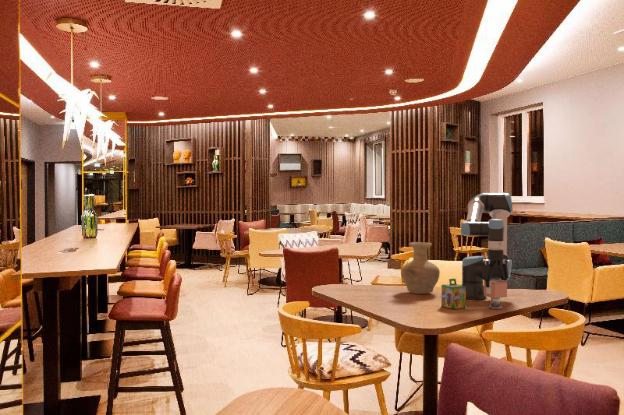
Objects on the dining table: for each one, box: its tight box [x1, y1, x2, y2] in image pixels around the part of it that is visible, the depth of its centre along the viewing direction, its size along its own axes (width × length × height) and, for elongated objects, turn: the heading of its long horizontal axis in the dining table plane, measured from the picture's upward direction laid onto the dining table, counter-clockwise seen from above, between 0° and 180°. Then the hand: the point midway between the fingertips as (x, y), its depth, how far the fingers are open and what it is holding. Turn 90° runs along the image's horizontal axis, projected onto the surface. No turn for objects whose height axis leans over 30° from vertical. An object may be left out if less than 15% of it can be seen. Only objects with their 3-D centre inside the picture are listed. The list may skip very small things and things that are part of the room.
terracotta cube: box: [483, 279, 508, 299], centre depth 274 cm, size 8×8×8 cm
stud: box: [487, 297, 503, 311], centre depth 274 cm, size 7×7×8 cm
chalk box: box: [440, 278, 467, 310], centre depth 276 cm, size 9×9×15 cm
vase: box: [400, 241, 441, 295], centre depth 315 cm, size 22×22×30 cm
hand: (495, 293), depth 274 cm, fingers closed on terracotta cube, 8 cm apart
